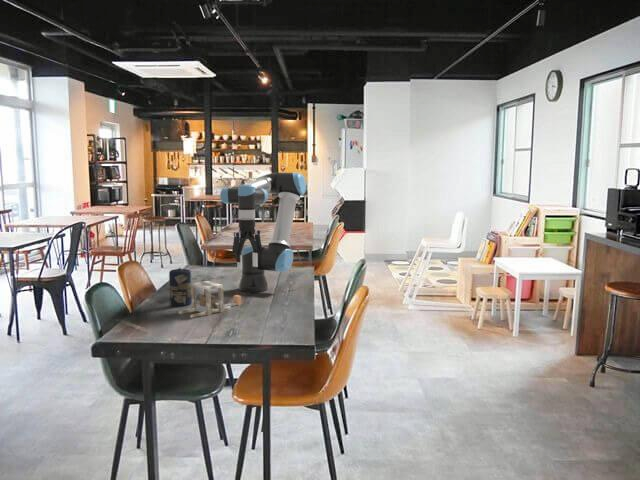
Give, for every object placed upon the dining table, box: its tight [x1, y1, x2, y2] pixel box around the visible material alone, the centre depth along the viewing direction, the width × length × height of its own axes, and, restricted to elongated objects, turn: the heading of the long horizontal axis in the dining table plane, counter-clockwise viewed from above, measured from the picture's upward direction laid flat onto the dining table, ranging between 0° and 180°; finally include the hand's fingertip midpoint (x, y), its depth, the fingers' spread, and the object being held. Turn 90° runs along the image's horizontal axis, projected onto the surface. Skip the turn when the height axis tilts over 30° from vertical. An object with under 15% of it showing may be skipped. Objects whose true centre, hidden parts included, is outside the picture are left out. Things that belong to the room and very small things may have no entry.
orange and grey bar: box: [195, 294, 242, 313], centre depth 253 cm, size 21×7×4 cm, turn 136°
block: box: [199, 294, 216, 309], centre depth 248 cm, size 4×5×6 cm
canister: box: [168, 267, 192, 308], centre depth 259 cm, size 10×10×18 cm
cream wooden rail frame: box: [178, 280, 232, 319], centre depth 249 cm, size 26×12×13 cm, turn 136°
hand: (247, 267), depth 263 cm, fingers open, 8 cm apart
